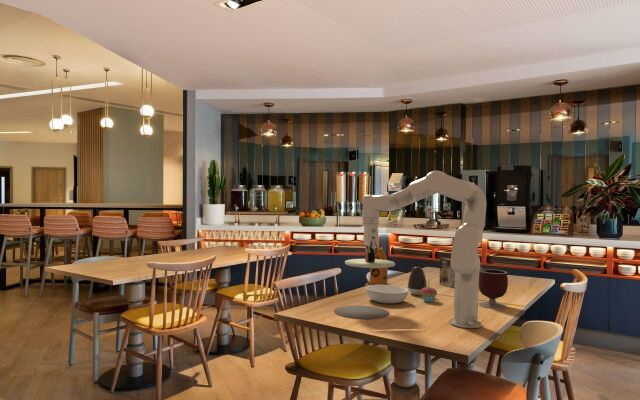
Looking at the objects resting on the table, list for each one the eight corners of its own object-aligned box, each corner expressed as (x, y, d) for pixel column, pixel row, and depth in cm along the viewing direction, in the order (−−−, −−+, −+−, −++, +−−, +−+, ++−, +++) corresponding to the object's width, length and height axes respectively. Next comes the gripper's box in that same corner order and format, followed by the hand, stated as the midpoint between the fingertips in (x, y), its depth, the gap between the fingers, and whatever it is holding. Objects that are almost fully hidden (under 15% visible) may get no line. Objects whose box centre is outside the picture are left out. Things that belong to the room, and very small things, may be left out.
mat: (396, 320, 197) (396, 319, 197) (338, 321, 194) (338, 319, 194) (381, 306, 222) (381, 305, 222) (329, 307, 218) (329, 305, 218)
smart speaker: (419, 291, 259) (420, 264, 259) (430, 295, 250) (431, 267, 249) (403, 292, 256) (404, 265, 256) (414, 296, 246) (414, 268, 246)
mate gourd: (505, 303, 234) (506, 264, 233) (509, 310, 220) (510, 268, 220) (473, 301, 238) (474, 262, 238) (474, 307, 224) (475, 266, 224)
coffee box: (438, 284, 283) (439, 258, 283) (447, 283, 286) (447, 257, 285) (448, 287, 275) (449, 260, 274) (457, 286, 277) (458, 259, 277)
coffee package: (366, 285, 275) (367, 248, 275) (374, 281, 286) (375, 246, 286) (382, 287, 271) (383, 249, 270) (389, 283, 282) (390, 247, 281)
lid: (401, 267, 204) (402, 252, 204) (351, 268, 201) (351, 252, 201) (386, 260, 227) (386, 246, 227) (340, 260, 223) (340, 246, 223)
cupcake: (437, 303, 231) (437, 279, 231) (419, 302, 232) (420, 278, 232) (436, 299, 239) (437, 276, 239) (419, 298, 241) (420, 275, 241)
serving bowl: (375, 308, 219) (375, 293, 219) (360, 298, 239) (360, 285, 239) (415, 306, 225) (415, 292, 225) (397, 296, 245) (397, 283, 245)
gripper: (383, 222, 206) (383, 263, 206) (373, 220, 223) (372, 258, 223) (367, 222, 205) (366, 263, 205) (358, 220, 221) (357, 258, 222)
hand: (369, 260), depth 214 cm, fingers closed on lid, 4 cm apart
